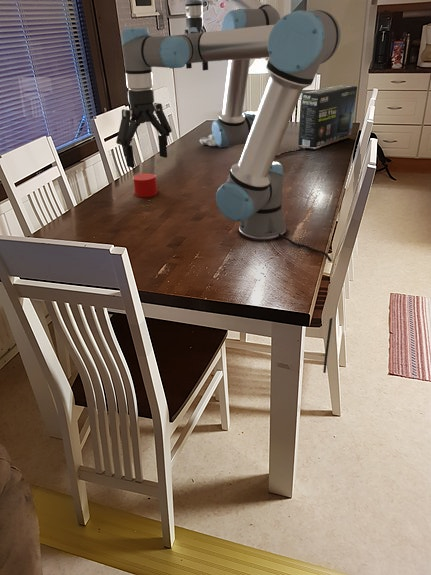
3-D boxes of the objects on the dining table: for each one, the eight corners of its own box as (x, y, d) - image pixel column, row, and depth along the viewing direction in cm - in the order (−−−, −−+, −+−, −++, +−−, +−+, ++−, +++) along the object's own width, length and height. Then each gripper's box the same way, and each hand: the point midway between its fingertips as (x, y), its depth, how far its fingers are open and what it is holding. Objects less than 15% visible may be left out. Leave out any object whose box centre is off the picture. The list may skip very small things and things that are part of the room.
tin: (133, 191, 188) (131, 175, 185) (154, 188, 191) (153, 172, 187) (137, 198, 181) (135, 181, 178) (159, 195, 183) (157, 178, 180)
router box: (314, 151, 231) (318, 94, 217) (296, 148, 237) (299, 92, 224) (352, 138, 251) (358, 85, 238) (335, 135, 258) (340, 83, 245)
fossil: (223, 141, 238) (204, 123, 241) (212, 159, 245) (194, 141, 248) (240, 140, 252) (222, 123, 255) (230, 156, 258) (212, 139, 262)
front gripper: (163, 82, 143) (168, 151, 154) (97, 93, 127) (108, 169, 138) (180, 84, 139) (184, 154, 150) (113, 96, 123) (124, 173, 134)
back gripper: (172, 17, 213) (176, 68, 224) (203, 17, 195) (206, 71, 206) (185, 17, 217) (188, 66, 227) (217, 16, 199) (219, 70, 210)
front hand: (147, 161), depth 144 cm, fingers open, 13 cm apart
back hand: (197, 69), depth 217 cm, fingers open, 13 cm apart
